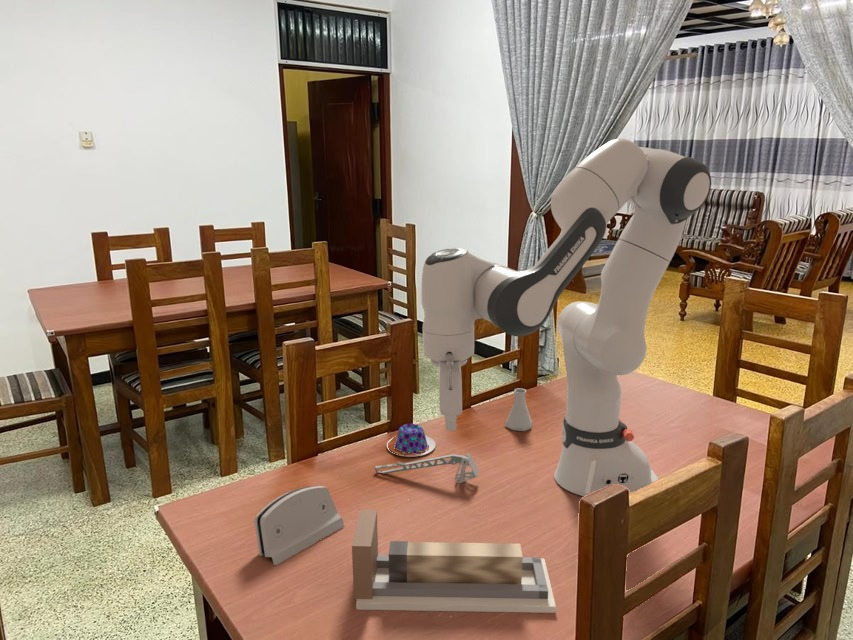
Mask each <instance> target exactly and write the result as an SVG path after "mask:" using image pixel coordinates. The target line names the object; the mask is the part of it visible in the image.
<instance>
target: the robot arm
mask: <svg viewBox="0 0 853 640" xmlns="http://www.w3.org/2000/svg"><path fill="white" fill-rule="evenodd" d="M711 188H712V177H711V172H710V169H709V168H708V166H707V165H706V164H704V163H703V162H701V161H699V160H698V159H695V158H693V157H690V156H684V155H682V154H678V153H676V152H673V151H670V150H667V149H662V148H659V149H657V148H651V147H644V146H643V147H642V146H639V145H638V144H636V143H635V142H633V141H631V140H629V139H626V138H614V139H611V140H609V141H608V142H606V143H604V144H603V145H602V146H600V147H598V148H597V149H596V150H594V151H593V152H591V153H590V154H588V156H586V157H585V158H584V159H583V160H582V161H580V162H579V163H578V164H577V165H576V166H575V167H573V169H571V171H569V173H568V174H567V175H566V176H564V178H563V179H561V181H560V182H559V183H558V184H557V186H556V187H555V189H554V191H553V193H552V194H551V199H550V208H551V209H550V210H551V214H552V216H553V218H554V220H555V222H556V224H557V225H558V226H559V228H560V229H561V230H560V233H559V235H558V236H557V238H556V239H555V240H554V241H553V243H552V244H551V245H550V246H549V247H548V249H547V250H546V251H545V253H543V255H542V256H541V257H540V258H539V259H538V261H537V262H536V263H535V264H534V266H532V267H531V268H528V269H525V270H522V271H521V270H520V271H517V270H515V269H513V268H511V267H508V266H506V265H502V264H499V263H496V262H491V261H488V260H485V259H482V258H480V257H477V256H476V255H473V254H472V253H470V252H469V250H468V249H465V248H461V247H451V248H444V249H441V250H437V251H435V252H433V253H431V254H430V255H429V256H428V257H426V259H425V261H424V264H423V267H422V272H421V273H422V275H421V276H422V277H421V305H422V310H423V313H424V314H423V316H424V319H423V323H422V349H423V350H422V353H423V355H424V356H425V357H426V358H427V359H430V364H431V365H432V366H434V367H437V370H438V395H439V397H438V399H439V413H440V415H441V416H444V419H445V430H446V431H448V432H449V431H450V432H451V431H452V432H453V431H454V432H455V431H456V430H457V416H461V415H462V413H463V385H462V384H463V381H462V368H461V367H463V366H465V365H466V364H467V362H468V359H469V358H470V357H472V356H474V354H475V322H476V320H479V319H484V320H486V321H488V322H490V323H492V324H494V325H495V326H496V327H497V328H499V329H500V330H502V332H504V333H505V334H507V335H510V336H512V337H524V336H529V335H531V334H533V333H535V332H536V331H538V330H539V329H540V328H541V327H542V326H543V325H544V324H545V323H546V321H547V320H548V318H549V317H550V315H551V313H552V311H553V309H554V308H555V307H554V306H555V305H556V303H557V301H558V299H559V298H560V297H561V295H562V293H563V292H564V290H565V289H566V288H567V286H568V285H569V284H570V283H571V281H572V280H573V279H574V278H575V276H576V275H577V274H578V273H579V272H580V271H581V269H582V267H583V266H584V265H585V263H587V261H588V260H589V259H590V258H591V256H592V255H593V254H594V252H595V251H596V249H597V248H598V247H599V245H600V243H601V242H602V240H603V239H604V237H605V233H606V230H607V224H608V223H609V222H610V220H612V218H613V217H614V216H615V215H616V214H617V213H618V212H619V211H620V210H621V209H622V208H623V207H624V205H626V203H629V204H630V205H633V206H635V207H634V212H633V215H632V216H631V217H630V219H629V220H628V222H627V224H626V225H625V226H624V228H623V230H622V232H621V234H620V236H619V237H618V239H617V240H616V243H615V245H614V246H613V249H612V251H611V253H610V254H609V256H608V258H607V261H606V262H605V265H604V266H603V268H602V270H601V272H600V282H601V290H600V295H599V300H598V303H594V302H589V301H573V302H571V303H568V304H567V305H566V306H565V307H564V308H562V310H561V312H560V313H559V315H558V318H557V329H558V332H559V336H560V338H561V342H562V343H561V344H562V350H563V351H562V352H563V358H564V366H565V372H566V382H567V390H566V391H567V395H566V396H567V397H566V411H565V416H564V418H563V422H562V423H563V425H562V429H561V430H562V431H561V441H562V447H561V452H560V457H559V460H558V464H557V467H556V469H555V471H554V474H553V475H554V480H555V482H556V483H557V484H558V485H559V486H560V487H561V488H563V489H564V490H565V491H569V492H571V493H573V494H575V495H579V496H580V497H581V496H582V497H583V498H585V497H584V496H585V495H588V494H590V493H592V492H594V491H597V490H599V489H601V488H604V487H606V486H609V485H612V484H619V485H623V486H625V487H627V488H628V489H629V490H630V492H633V491H637V490H638V489H640V488H643V487H645V486H647V485H649V484H651V483H652V482H654V481H656V480H658V479H659V477H658V475H657V474H656V473H655V472H654V470H653V469H652V468H651V464H650V461H649V457H648V456H647V454H646V453H645V452H644V451H643V450H642V449H641V448H640V447H639V446H638V445H637V444H635V442H633V440H634V438H635V435H634V433H633V431H632V430H631V429H629V428H628V426H627V425H626V424H625V423H624V422H623V421H622V419H620V414H621V413H620V412H621V411H620V410H621V400H622V388H621V384H620V381H619V380H618V379H619V378H618V377H617V376H626V375H630V374H631V373H634V371H637V369H638V368H639V367H640V366H641V365H642V363H643V362H644V360H645V358H646V355H647V349H648V348H647V342H646V338H645V330H646V329H645V328H646V323H647V318H648V317H647V316H648V313H649V308H650V305H651V302H652V299H653V296H654V294H655V292H656V290H657V288H658V286H659V284H660V282H661V280H662V278H663V277H664V275H665V272H666V270H667V268H668V267H669V265H670V263H671V261H672V259H673V257H674V256H675V252H676V250H677V248H678V246H679V243H680V242H681V239H682V236H683V233H684V231H685V226H686V223H687V219H689V217H692V216H693V215H694V214H695V213H696V212H698V210H699V209H701V208H702V207H703V205H704V204H705V203H706V201H707V200H708V197H709V195H710V192H711Z"/></svg>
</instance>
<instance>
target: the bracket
mask: <svg viewBox="0 0 853 640" xmlns="http://www.w3.org/2000/svg"><path fill="white" fill-rule="evenodd" d="M447 459H449V460H447ZM433 461H434V462H433ZM438 461H439V462H438ZM456 464H459V465H458V467H457V471H456V474H455V476H454V480H455V483H456V484H462V483H465V482H467V481H469V480H472V479H475V478H476V479H477V478H478V476H479V475H478V474H479V469H478V467H477V464H476V462H475V461H474V459H473V457H472V455H471V453H468V454H464V455H462V454H461V455H460V454H457V453H456V454H455V453H452V454H448V455H441V456H436V457H430V458H426V459H420V460H419V459H418V460H415V461H410V462H401V461H397V463H392V464H381V465H375V466H374V471H375V472H376V474H377V473H378V472H381V471H380V470H379V469H386V470H382V472H381V473H383V474H385V475H386V474H390V473H399V472H404V471H411V470H418V469H424V468H425V469H426V468H431V467H436V466H437V467H438V466H445V465H453V466H455V465H456ZM399 466H400V467H399ZM468 466H469V468H470V469H471V471H470V470H469V471H466V469H467V467H468ZM392 467H394V468H392ZM396 467H397V468H396ZM387 468H391V469H387ZM460 468H461V469H460ZM459 472H460V473H459ZM383 474H382V475H383Z"/></svg>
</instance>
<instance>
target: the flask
mask: <svg viewBox="0 0 853 640" xmlns="http://www.w3.org/2000/svg"><path fill="white" fill-rule="evenodd" d="M513 393H514V400H513V404H512V407H511V409H510V412H509V414H508V416H507V418H506V421H505V424H504V427H505V428H507V429H510V430H511V431H519V432H526V431H528V430H531V429H532V427H533V421H532V417H531V415H530V411H529V409H528V406H527V401H526V393H527V389H525V388H514V391H513Z"/></svg>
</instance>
